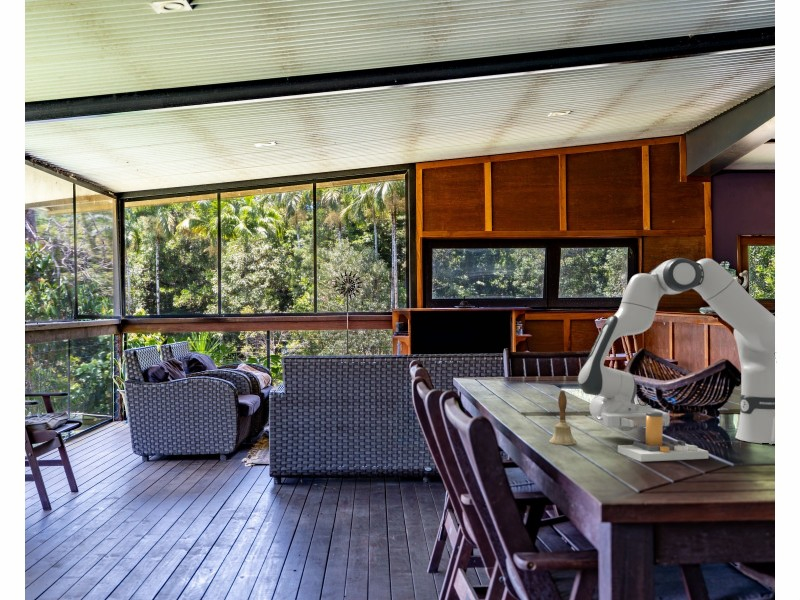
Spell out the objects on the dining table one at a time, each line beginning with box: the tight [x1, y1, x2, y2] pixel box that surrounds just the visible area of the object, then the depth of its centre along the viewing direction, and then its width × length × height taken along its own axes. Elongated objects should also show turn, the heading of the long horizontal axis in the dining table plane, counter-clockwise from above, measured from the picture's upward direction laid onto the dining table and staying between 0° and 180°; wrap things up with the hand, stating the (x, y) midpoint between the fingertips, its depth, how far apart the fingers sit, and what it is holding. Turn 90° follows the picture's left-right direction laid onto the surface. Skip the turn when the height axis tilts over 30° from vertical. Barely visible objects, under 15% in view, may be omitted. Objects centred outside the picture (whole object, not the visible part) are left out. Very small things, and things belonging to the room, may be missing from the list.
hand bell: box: [548, 390, 578, 446], centre depth 215 cm, size 8×8×16 cm
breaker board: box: [617, 440, 709, 462], centre depth 198 cm, size 21×12×3 cm, turn 102°
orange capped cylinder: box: [644, 411, 664, 446], centre depth 198 cm, size 4×4×10 cm
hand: (649, 423), depth 201 cm, fingers open, 8 cm apart
